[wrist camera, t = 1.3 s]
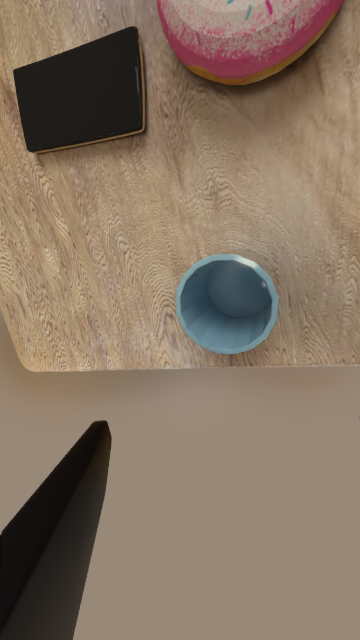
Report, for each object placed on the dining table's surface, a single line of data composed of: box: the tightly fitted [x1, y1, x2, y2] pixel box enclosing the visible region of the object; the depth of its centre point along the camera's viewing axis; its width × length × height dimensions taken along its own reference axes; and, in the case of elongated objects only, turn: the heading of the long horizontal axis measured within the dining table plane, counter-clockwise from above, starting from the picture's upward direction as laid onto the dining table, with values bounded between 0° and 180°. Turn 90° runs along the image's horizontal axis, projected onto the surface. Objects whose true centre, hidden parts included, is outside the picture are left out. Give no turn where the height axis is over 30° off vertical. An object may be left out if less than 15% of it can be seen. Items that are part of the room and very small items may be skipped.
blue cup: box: [175, 250, 279, 355], centre depth 21 cm, size 7×7×9 cm
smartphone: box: [13, 26, 145, 153], centre depth 24 cm, size 7×1×15 cm
